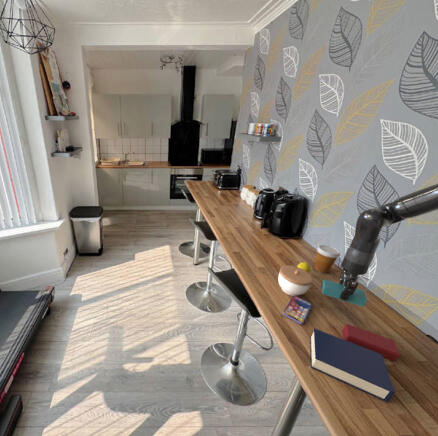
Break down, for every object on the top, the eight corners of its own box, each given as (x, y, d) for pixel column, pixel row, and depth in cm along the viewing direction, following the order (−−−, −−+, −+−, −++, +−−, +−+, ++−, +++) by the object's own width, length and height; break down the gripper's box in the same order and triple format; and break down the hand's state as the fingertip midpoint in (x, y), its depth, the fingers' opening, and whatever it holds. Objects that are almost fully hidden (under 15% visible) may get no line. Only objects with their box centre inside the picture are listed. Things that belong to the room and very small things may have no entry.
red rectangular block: (389, 347, 81) (394, 340, 79) (394, 361, 76) (399, 354, 74) (342, 330, 87) (346, 323, 85) (344, 342, 82) (348, 335, 80)
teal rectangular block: (360, 297, 93) (363, 290, 92) (363, 306, 88) (367, 299, 87) (321, 285, 99) (323, 278, 98) (322, 293, 94) (324, 286, 93)
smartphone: (312, 305, 97) (302, 325, 88) (293, 296, 102) (281, 314, 92) (313, 304, 97) (303, 324, 87) (294, 294, 102) (282, 312, 92)
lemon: (296, 271, 119) (301, 258, 116) (309, 276, 115) (314, 263, 112) (292, 275, 116) (297, 262, 113) (305, 281, 112) (310, 267, 109)
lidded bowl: (284, 300, 100) (292, 279, 95) (269, 281, 111) (275, 261, 107) (313, 300, 100) (322, 279, 96) (295, 281, 112) (302, 262, 107)
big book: (376, 364, 75) (382, 354, 73) (387, 402, 65) (395, 392, 63) (309, 337, 83) (314, 328, 81) (310, 367, 73) (315, 358, 71)
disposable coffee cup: (306, 265, 124) (313, 245, 120) (319, 262, 127) (326, 243, 122) (323, 276, 116) (331, 255, 111) (336, 273, 119) (345, 253, 114)
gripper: (375, 272, 79) (356, 309, 86) (366, 253, 91) (350, 287, 97) (348, 264, 83) (331, 301, 90) (342, 247, 94) (328, 281, 101)
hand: (341, 294), depth 94 cm, fingers closed on teal rectangular block, 6 cm apart
